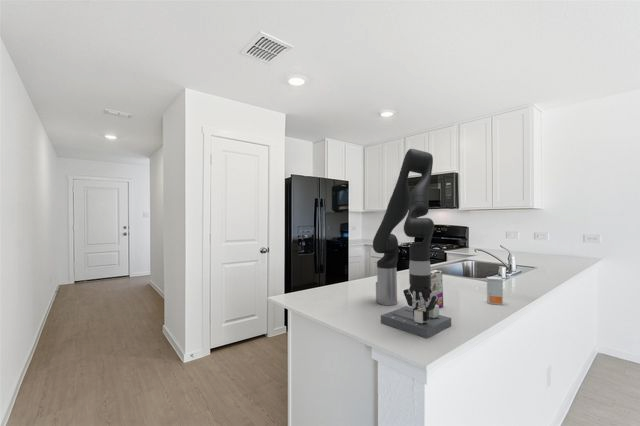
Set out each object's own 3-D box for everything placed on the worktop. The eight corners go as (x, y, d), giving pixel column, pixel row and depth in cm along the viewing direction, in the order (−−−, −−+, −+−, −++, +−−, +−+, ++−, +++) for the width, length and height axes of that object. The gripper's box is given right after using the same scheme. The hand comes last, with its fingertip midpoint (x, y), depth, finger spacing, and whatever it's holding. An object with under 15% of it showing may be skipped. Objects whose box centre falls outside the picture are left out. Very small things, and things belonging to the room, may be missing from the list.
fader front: (414, 321, 110) (414, 310, 110) (420, 318, 112) (420, 307, 112) (421, 323, 108) (421, 312, 108) (427, 320, 110) (427, 309, 110)
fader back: (426, 316, 115) (426, 305, 115) (431, 313, 118) (431, 303, 118) (433, 318, 113) (433, 307, 113) (439, 315, 115) (438, 305, 115)
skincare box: (488, 304, 140) (487, 278, 140) (487, 301, 144) (486, 276, 144) (503, 305, 137) (502, 279, 138) (501, 302, 141) (501, 277, 141)
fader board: (380, 322, 119) (380, 315, 119) (406, 313, 130) (406, 306, 130) (427, 338, 103) (426, 329, 103) (451, 325, 114) (451, 317, 114)
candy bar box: (435, 304, 141) (434, 269, 141) (443, 307, 137) (442, 271, 137) (417, 308, 136) (416, 271, 136) (426, 311, 132) (425, 273, 132)
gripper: (443, 273, 107) (444, 322, 107) (409, 268, 118) (410, 312, 118) (432, 276, 102) (433, 327, 102) (397, 271, 113) (398, 317, 113)
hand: (421, 319), depth 110 cm, fingers closed on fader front, 3 cm apart
